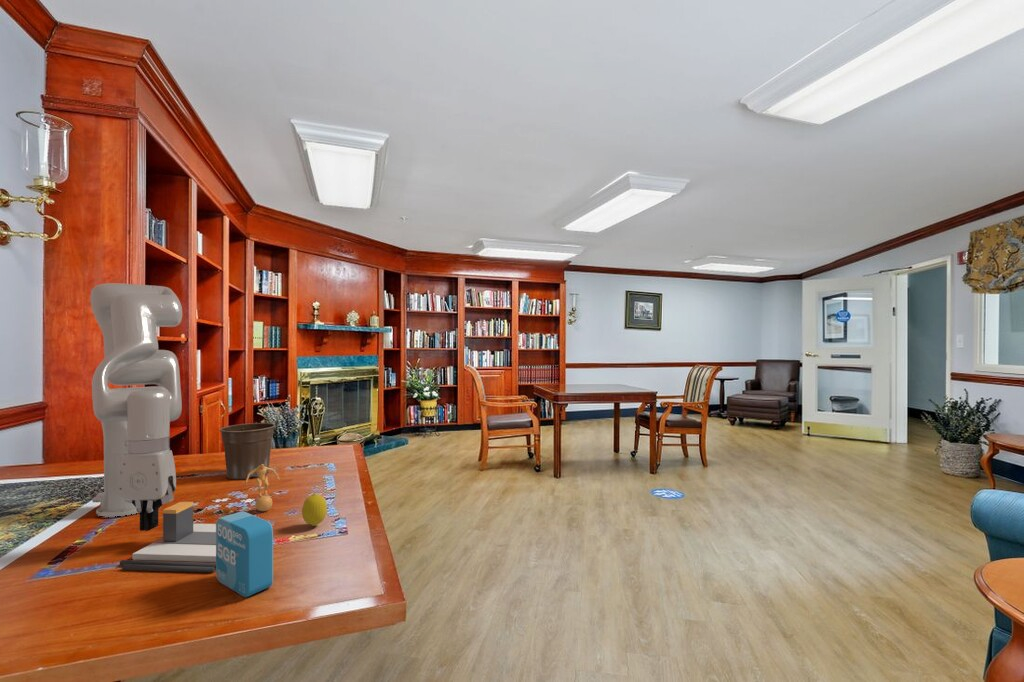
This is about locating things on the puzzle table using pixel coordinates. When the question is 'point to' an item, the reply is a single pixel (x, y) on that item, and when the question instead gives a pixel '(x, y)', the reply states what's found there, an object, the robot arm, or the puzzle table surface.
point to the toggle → (177, 521)
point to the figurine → (263, 501)
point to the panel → (183, 547)
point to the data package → (244, 553)
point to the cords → (168, 566)
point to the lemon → (314, 509)
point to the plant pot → (246, 448)
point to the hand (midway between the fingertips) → (149, 528)
